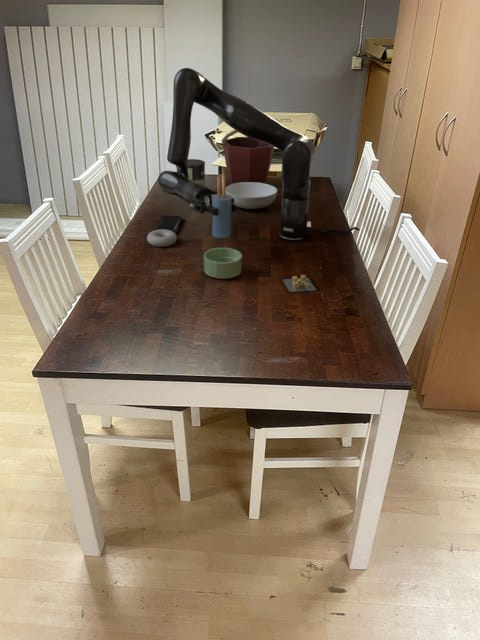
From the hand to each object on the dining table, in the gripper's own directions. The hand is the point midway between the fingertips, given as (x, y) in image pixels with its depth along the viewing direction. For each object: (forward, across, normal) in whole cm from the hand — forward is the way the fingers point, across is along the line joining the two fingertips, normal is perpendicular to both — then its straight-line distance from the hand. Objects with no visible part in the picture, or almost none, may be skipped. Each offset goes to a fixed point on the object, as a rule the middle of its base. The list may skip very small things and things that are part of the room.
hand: (226, 210), depth 156 cm
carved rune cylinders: (+26, +8, +16) cm, 32 cm away
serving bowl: (-38, +37, +17) cm, 55 cm away
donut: (-23, -11, +17) cm, 30 cm away
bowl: (+7, -6, +16) cm, 18 cm away
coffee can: (-61, +24, +17) cm, 67 cm away
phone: (-35, -2, +16) cm, 39 cm away
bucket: (-61, +53, +17) cm, 82 cm away
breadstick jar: (-2, 0, +8) cm, 9 cm away
